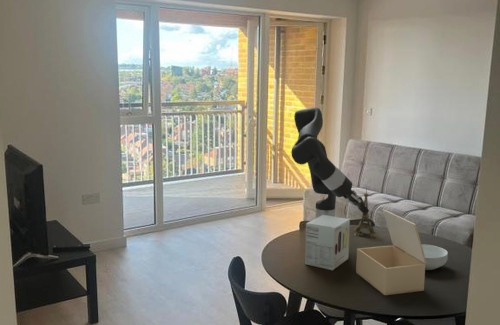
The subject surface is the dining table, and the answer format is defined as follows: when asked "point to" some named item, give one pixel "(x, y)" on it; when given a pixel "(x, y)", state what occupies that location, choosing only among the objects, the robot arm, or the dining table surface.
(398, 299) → the dining table surface
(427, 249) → the cereal bowl
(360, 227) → the eiffel tower
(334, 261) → the supplement box
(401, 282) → the mailer box
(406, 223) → the mailer lid
